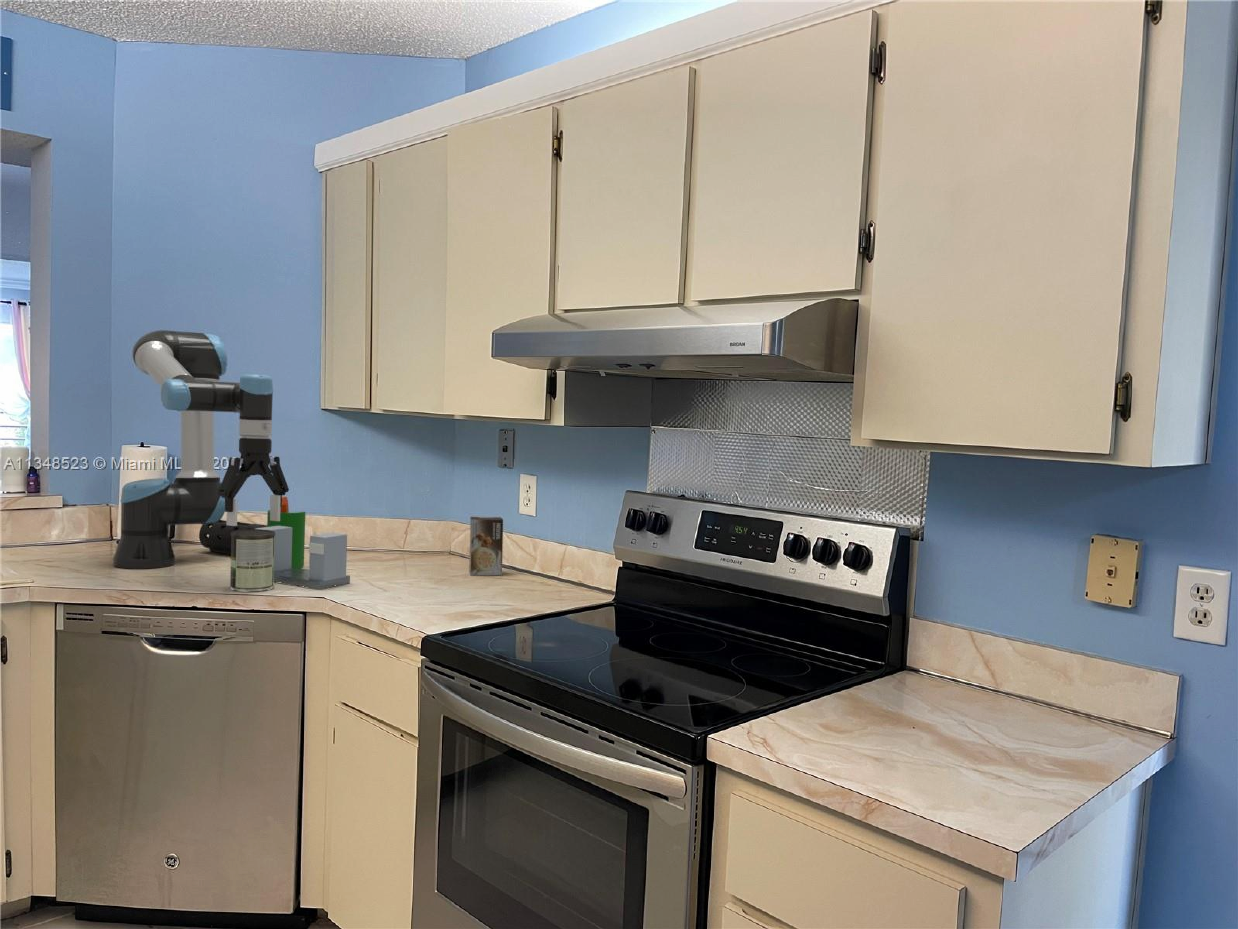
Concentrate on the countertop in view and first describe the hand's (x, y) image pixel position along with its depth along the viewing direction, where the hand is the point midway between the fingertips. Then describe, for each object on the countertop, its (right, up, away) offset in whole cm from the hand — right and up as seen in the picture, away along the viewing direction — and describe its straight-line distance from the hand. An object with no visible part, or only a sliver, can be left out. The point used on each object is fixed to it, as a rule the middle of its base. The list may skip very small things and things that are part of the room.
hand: (253, 523), depth 231 cm
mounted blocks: (+7, -14, +13) cm, 20 cm away
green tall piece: (-4, -15, +32) cm, 35 cm away
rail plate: (+7, -16, +13) cm, 22 cm away
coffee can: (-1, -17, +1) cm, 17 cm away
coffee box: (+52, -17, +36) cm, 65 cm away
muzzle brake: (-20, -13, +46) cm, 52 cm away
